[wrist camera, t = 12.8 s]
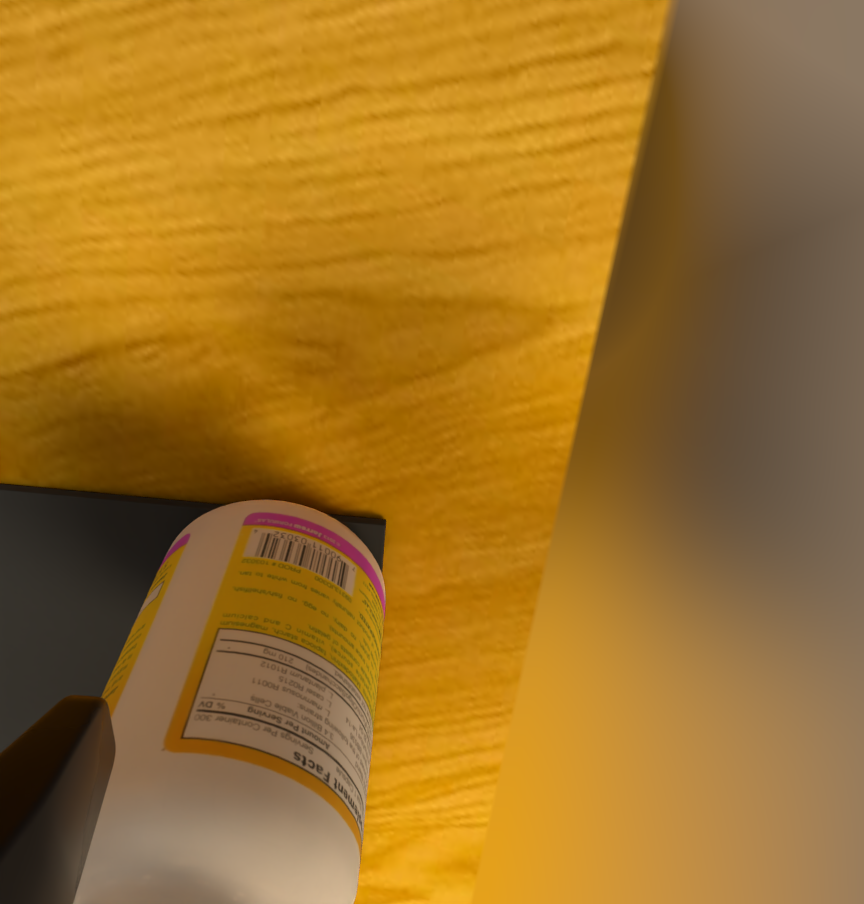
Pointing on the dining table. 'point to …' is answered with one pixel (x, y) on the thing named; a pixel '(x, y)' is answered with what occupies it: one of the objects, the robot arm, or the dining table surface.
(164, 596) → the supplement bottle
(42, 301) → the dining table surface
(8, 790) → the robot arm
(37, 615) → the mat
